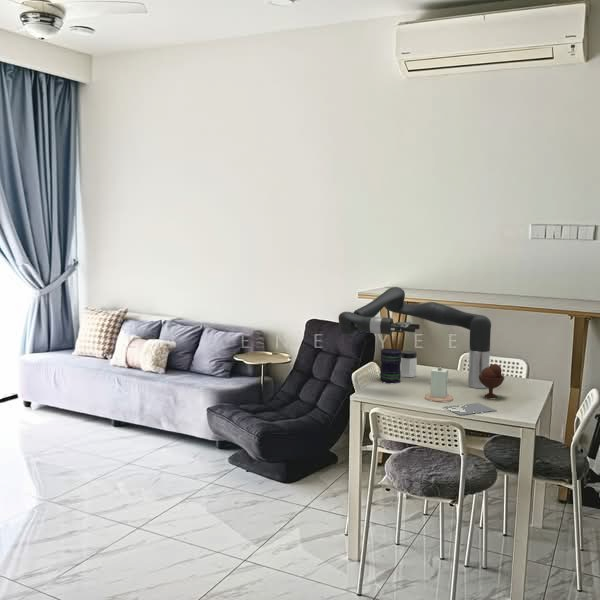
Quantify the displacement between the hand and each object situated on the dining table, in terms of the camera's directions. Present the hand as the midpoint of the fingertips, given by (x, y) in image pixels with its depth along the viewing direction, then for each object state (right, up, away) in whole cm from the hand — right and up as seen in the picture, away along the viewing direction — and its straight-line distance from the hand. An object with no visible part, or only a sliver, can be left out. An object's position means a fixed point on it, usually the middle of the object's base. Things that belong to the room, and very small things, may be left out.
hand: (417, 328), depth 297 cm
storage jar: (-8, -27, +29) cm, 40 cm away
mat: (+18, -33, -18) cm, 42 cm away
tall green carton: (+9, -30, -2) cm, 31 cm away
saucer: (+9, -31, -2) cm, 32 cm away
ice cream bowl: (+33, -31, +2) cm, 45 cm away
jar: (+2, -25, +41) cm, 48 cm away
